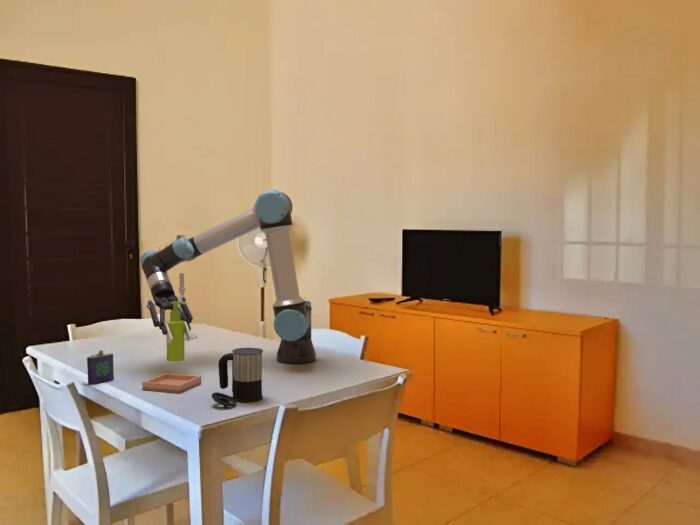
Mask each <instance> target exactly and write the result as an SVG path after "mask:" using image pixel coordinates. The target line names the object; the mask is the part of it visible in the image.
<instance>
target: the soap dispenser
mask: <svg viewBox="0 0 700 525" xmlns="http://www.w3.org/2000/svg"><path fill="white" fill-rule="evenodd" d="M170 304H173V310H172V311H171V310H170V311H169V312H170V313H169V314H170V316H169V317H170V318H169V319H170V320H168V321H166V323H167V324H168V326H169V329H170V332H171V334H172V337H173V340H172V342H171V344H169V343H168V340H167V339H166V361H167V362H181V361H184V360H185V351H186V350H185V340H184V321H181V312H180V311H179V310H178V307H179V304H183V305H185V304H187V305H188V302H187V301H186V302H182V301H175V302H170Z"/></svg>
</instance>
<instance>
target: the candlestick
mask: <svg viewBox="0 0 700 525" xmlns="http://www.w3.org/2000/svg"><path fill="white" fill-rule="evenodd" d="M178 276H179V287H178V288H177V289H178V292H179V299H182V298H183V297H184V298H185V292H186V287H185V273H182V272H181V273H179V275H178ZM178 307H179V308H180V309H181V305H179V304H178ZM181 311H182V309H181ZM182 312H183V311H182ZM190 333H191V335H192V337H191V339H192V340H195V339H194V338H196V339H198V334H195V333H193V332H190ZM184 341H187V338H186V336H185V333H184Z"/></svg>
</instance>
